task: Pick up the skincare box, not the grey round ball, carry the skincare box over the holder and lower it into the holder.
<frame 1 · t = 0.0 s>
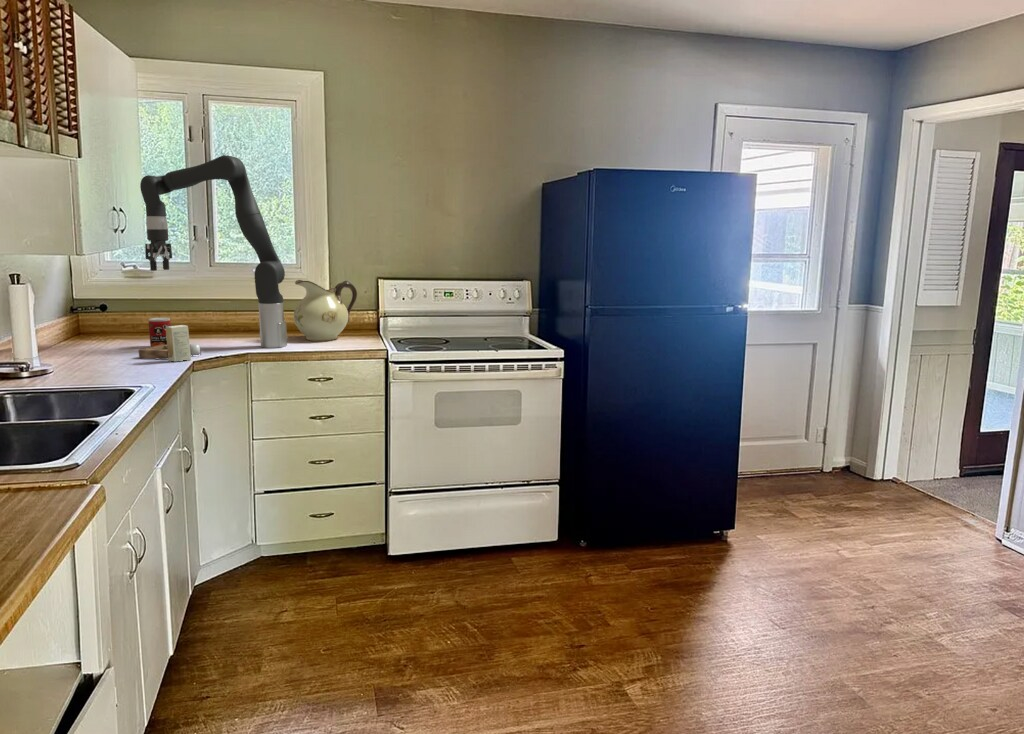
hand: (160, 270, 296), 29 cm above the worktop, tool pointing down, fingers open, 8 cm apart
skincare box: (179, 361, 261), on the worktop
pitcher: (322, 339, 319), on the worktop
grey round ball: (195, 355, 273), on the worktop
canned food: (161, 347, 293), on the worktop
holder: (167, 355, 271), on the worktop
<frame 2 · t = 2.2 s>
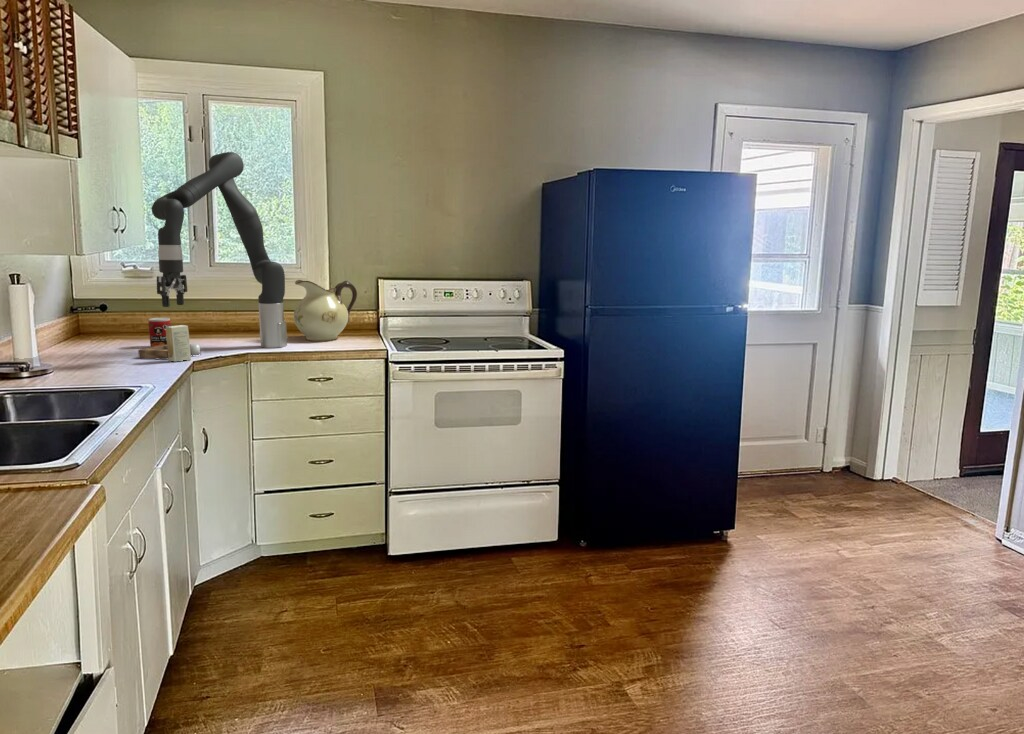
hand: (173, 305, 259), 19 cm above the worktop, tool pointing down, fingers open, 8 cm apart
nothing on the worktop moved.
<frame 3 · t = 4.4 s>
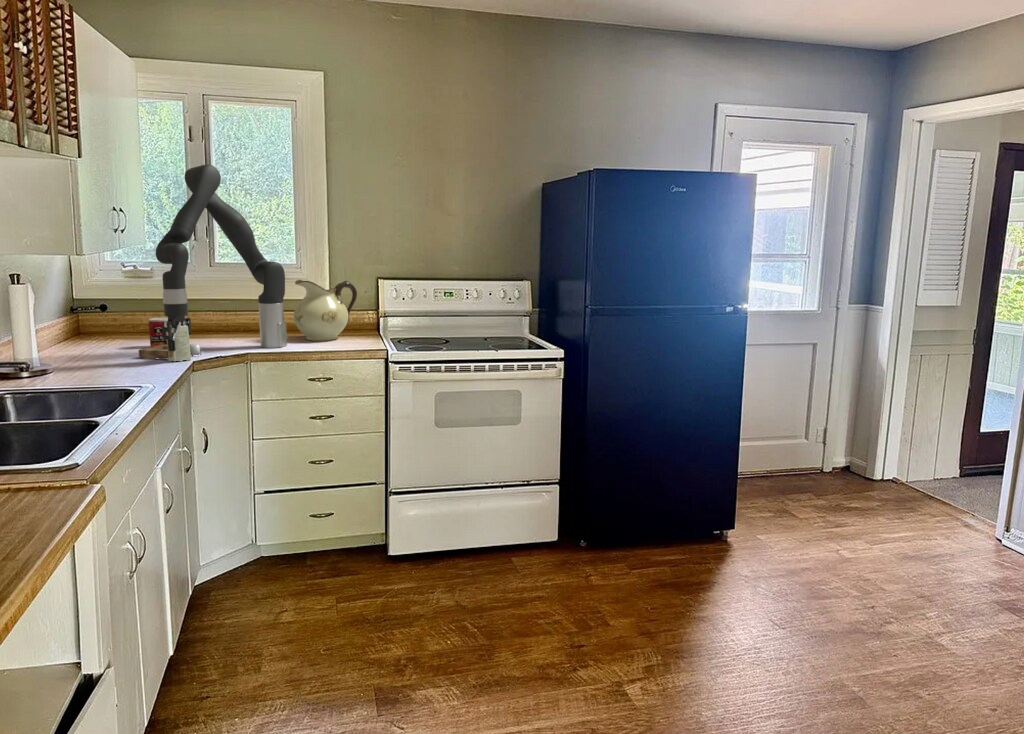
hand: (178, 349, 260), 4 cm above the worktop, tool pointing down, fingers closed on skincare box, 7 cm apart
skincare box: (179, 361, 261), on the worktop, touching gripper
everything else where it was.
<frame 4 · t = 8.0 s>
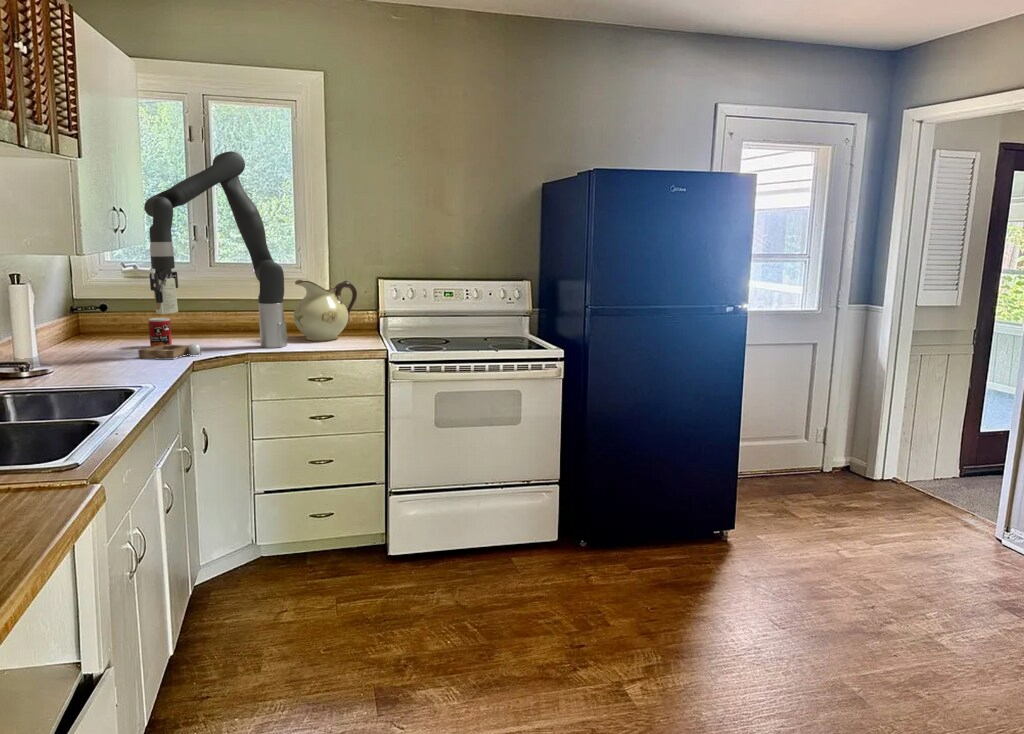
hand: (165, 301, 267), 20 cm above the worktop, tool pointing down, fingers closed on skincare box, 7 cm apart
skincare box: (166, 313, 267), point 15 cm above the worktop, touching gripper
everything else where it was.
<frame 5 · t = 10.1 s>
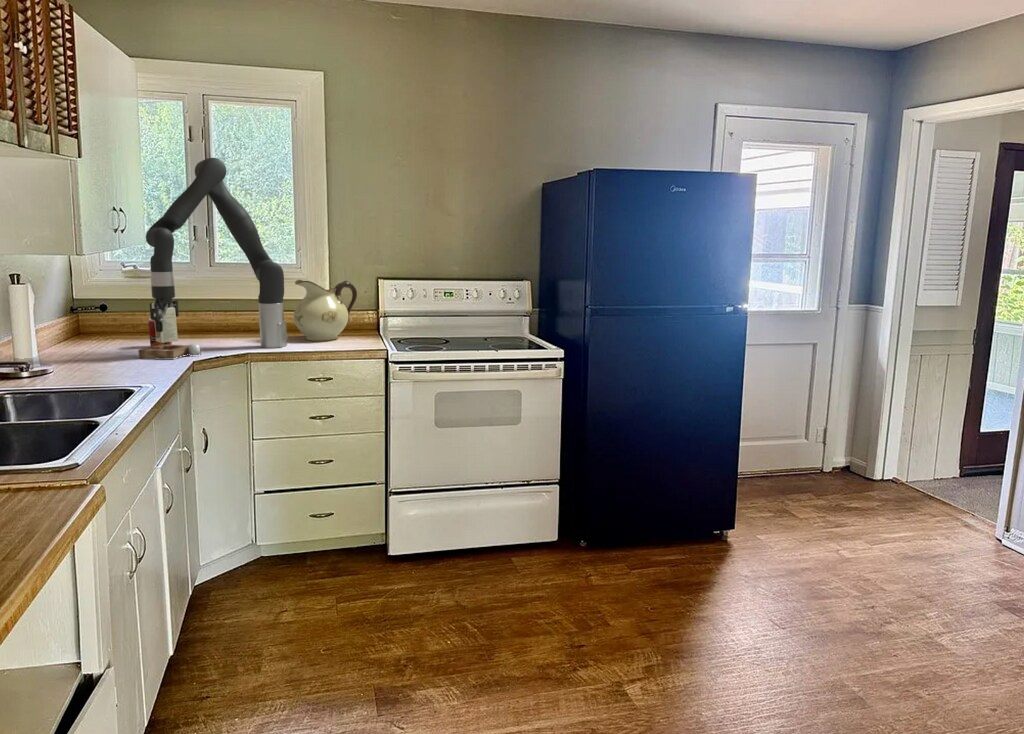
hand: (165, 330, 270), 9 cm above the worktop, tool pointing down, fingers closed on skincare box, 7 cm apart
skincare box: (166, 342, 270), point 5 cm above the worktop, touching gripper
everything else where it was.
when the fingers open (5 cm above the worktop, at t = 11.6 s): skincare box drops 1 cm, resting in holder.
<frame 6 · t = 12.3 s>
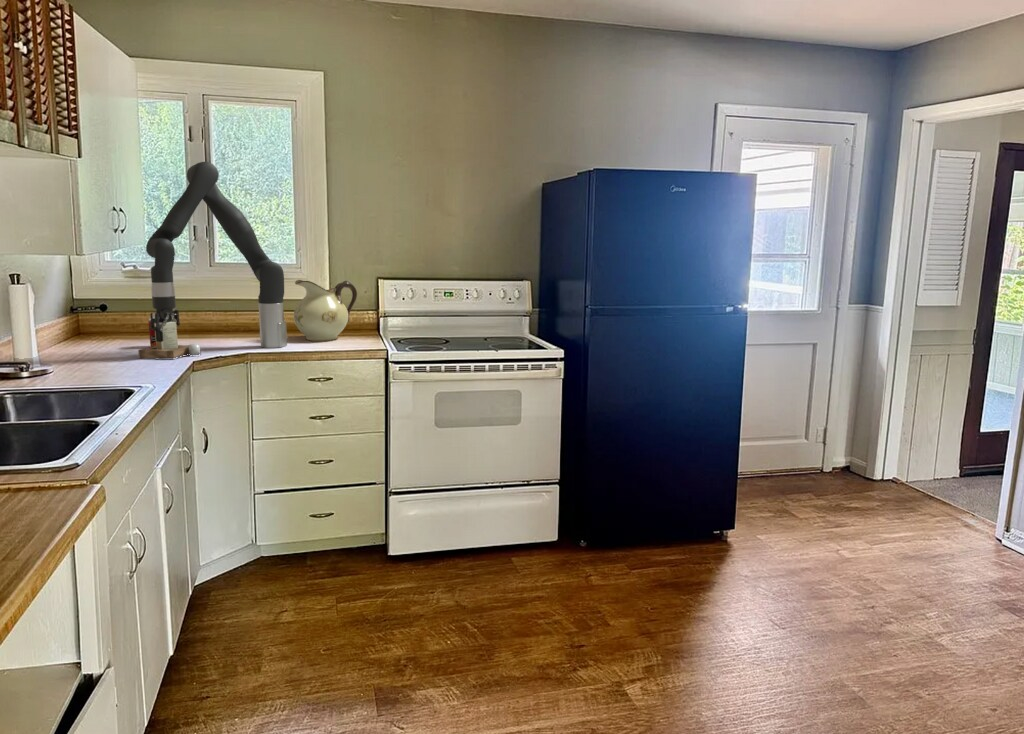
hand: (166, 340, 270), 6 cm above the worktop, tool pointing down, fingers open, 8 cm apart
skincare box: (167, 356, 271), resting in holder
everything else where it was.
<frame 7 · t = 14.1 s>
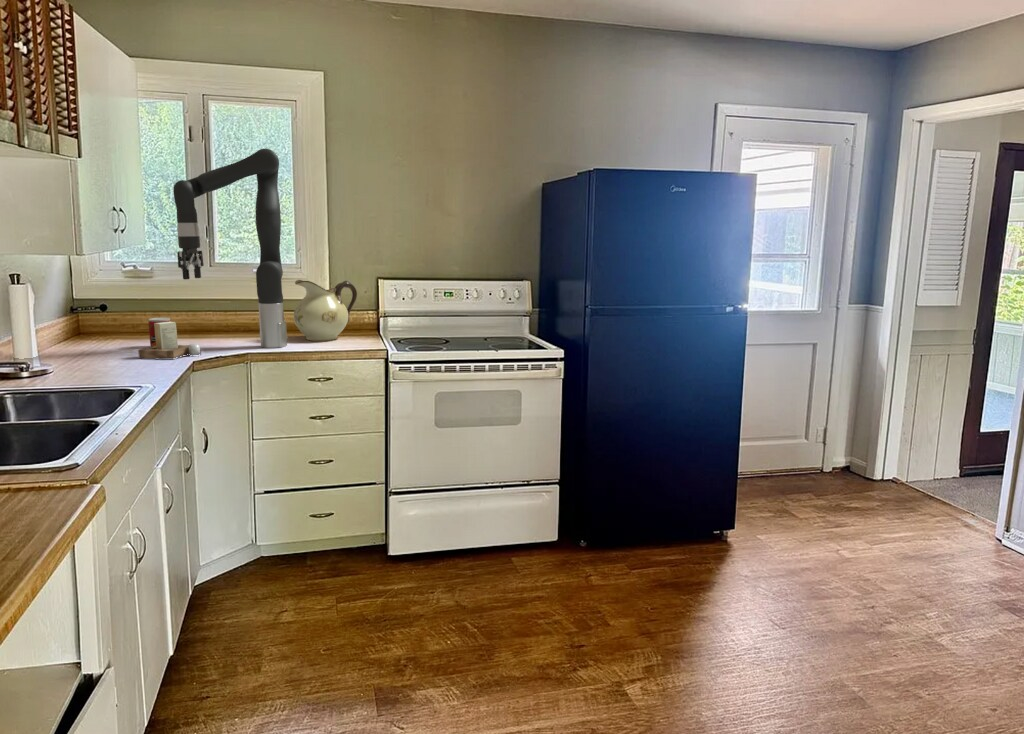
hand: (192, 278, 284), 27 cm above the worktop, tool pointing down, fingers open, 8 cm apart
nothing on the worktop moved.
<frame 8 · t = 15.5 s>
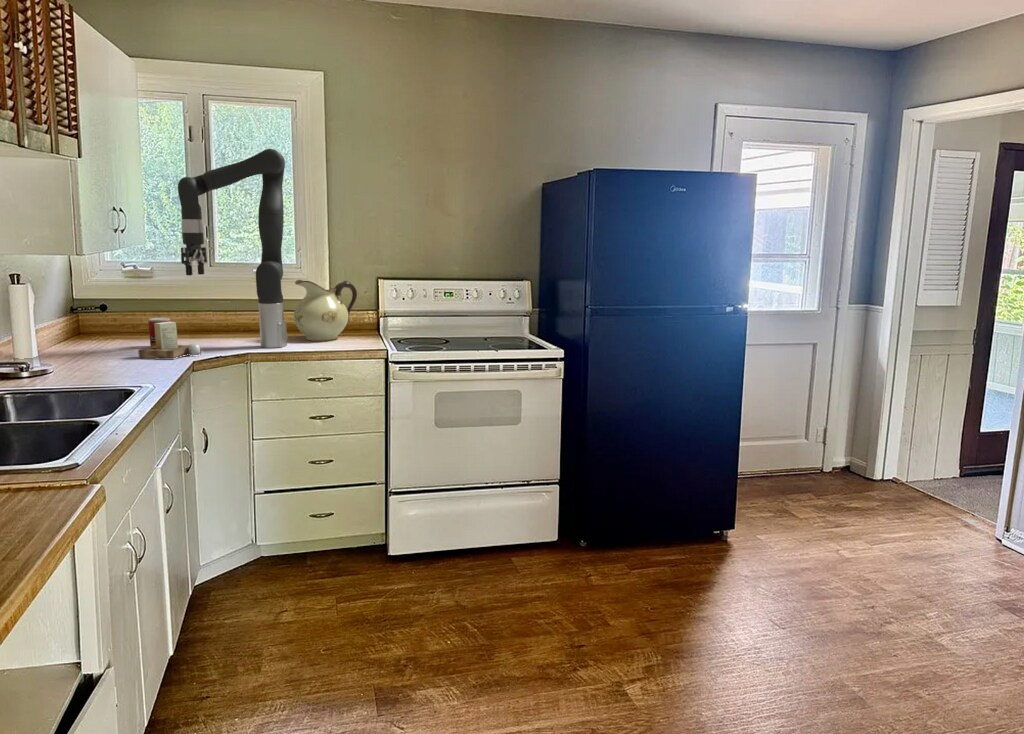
hand: (195, 274, 286), 28 cm above the worktop, tool pointing down, fingers open, 8 cm apart
nothing on the worktop moved.
at the end: skincare box inside the target area on the holder (0.3 cm from its centre), point 0.0 cm above the holder's base; skincare box tilted 0°; the gripper is holding nothing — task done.
